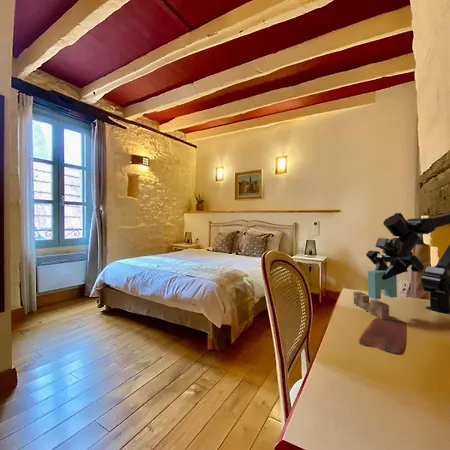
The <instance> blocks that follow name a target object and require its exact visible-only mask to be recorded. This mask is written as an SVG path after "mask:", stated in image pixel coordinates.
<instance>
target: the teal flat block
mask: <svg viewBox="0 0 450 450" xmlns="http://www.w3.org/2000/svg"><path fill="white" fill-rule="evenodd" d="M385 272H386V270H378V271H375V270H368V271H367V291H368V292H367V293H368V294H367V295H368V297H369V299H372V300H381V299H382V293H381V291H382V290H383V292H384V293H383V294H384V296H386V297H388V298H392V299H393V298H398V285H397V283H398V282H397V277H398V275H395V276H393V277H391V278H388V279H386V280H383V279H382V277H383V275H384V273H385Z"/></svg>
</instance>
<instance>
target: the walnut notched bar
mask: <svg viewBox="0 0 450 450" xmlns="http://www.w3.org/2000/svg"><path fill="white" fill-rule="evenodd" d="M353 304H354V305H355V304H356V305H355V306H357V307H358V306H359V308H361V309H362V310H363V309H364V311H365V310H366V311H365V312H367V311H368V312H367V313H369V314H370V313H371V314H370V315H372V316H374V317H375V316H376V317H375V318H377V317H378V318H380V319H390V305H389V304H387V303H385V302H383V301H381V300H380V299H370V297H368V294H366V293H364V292H362V291H353Z"/></svg>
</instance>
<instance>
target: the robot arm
mask: <svg viewBox="0 0 450 450" xmlns="http://www.w3.org/2000/svg"><path fill="white" fill-rule="evenodd" d="M382 224H383V226H384V227H385V228H386V229H387V230H388V231H389V233H390V234H391V236H393V238H385V237H379V238H377V241H376V244H375V248H379V249H381V250H382V253H383V254H382V253H381V252H380V251H379V250H368V251H367V252H366V254H365V255H366V257H367V259H369V260H370V261H371V262H372V264H374V265H375V270H374V271H378V270H386V272H385V273H384V275H383V277H382V279H383V280H386V279H388V278H391V277H393V276H395V275H396V276H398V275H401V274H403V273H408V272H409V270H408V268H410V267H411V268H410V269H411V270H410V271H412V272H415V273H419V274H420V273H421V278H420V282H421V285H422V288H423V291H424V292H429V295H430V296H429V305H428V306H425V309H428V310H432V311H435V312H439V313H443V314H449V313H450V244H449V245H448V247H447V248H446V249H445V251H444V253H443V254H442V256H441V257H440V258H439V260H438V262H437V264H436V265H435V266H431V265H430V266H429V265H428V266H426V268H425V266H424V263H423V262H422V261H421V260H420V259H419V258H418V257H417V255H414V252H413V249H414V248H415V247H416V246H417V245H419V246H423V245H425V244H424V240H423V238H422V237H421V236H419V235H429V234H430V233H432V232H434V231H436V229H437V228H440V227H443V226H447V225H450V211H447V212H445V213H441V214H436V215H434V216H433V215H432V216H430V217H424V218H423V217H420V218H419V217H418V218H408V219H407V220H406V218H405V217H404V215H403V214H402V212H395V213H394V214H393V215H390V216H389V217H387V218H385V219H384V221H383V223H382ZM388 263H389V266H388ZM424 268H425V270H424ZM423 270H424V271H423ZM422 271H423V272H422Z"/></svg>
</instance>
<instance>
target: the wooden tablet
mask: <svg viewBox="0 0 450 450" xmlns="http://www.w3.org/2000/svg"><path fill="white" fill-rule="evenodd" d="M406 339H407V324H406V322H405V321H403V320H397V319H392V318H389V319H380V318H377V317H375V318H374V320H373V319H372V321H371V322H369V324H368V326H367V327H366V328H365V329H364V331H363V333H362V334H361V336H360V337H359V345H361V346H364V347H368V348H373V349H379V350H381V351H383V352H386V353H389V354H393V355H400V354H402V353H403V351H404V349H405V346H406V341H407V340H406Z"/></svg>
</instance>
